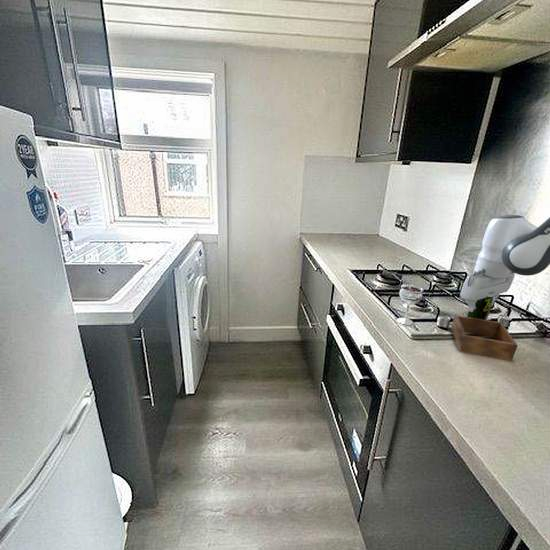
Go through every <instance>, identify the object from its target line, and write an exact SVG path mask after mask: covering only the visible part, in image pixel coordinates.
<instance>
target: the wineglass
mask: <svg viewBox="0 0 550 550" xmlns="http://www.w3.org/2000/svg"><path fill="white" fill-rule="evenodd" d="M423 292H424V288H423V287H421V286H419V285H417V284H412V283H403V284H401V285H400V289H399V292H398V295H399V298H400V299H401V300H402V301H403V302H404V303H406V308H405V316H404V317H398V318H397V319H396V322H398V323H399V324H400V325H404V326H411V325H413V324H414V322H413V320H411V319H410V318H408V314H409V309H410V306H411V305H413V304H417V303H418V302H420V301H421V300H422V299H423Z"/></svg>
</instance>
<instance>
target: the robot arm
mask: <svg viewBox="0 0 550 550" xmlns="http://www.w3.org/2000/svg"><path fill="white" fill-rule="evenodd" d="M549 266H550V216H549V217H548V218H546V220H545V221H544V222H542V223H541V224H540V225H539V226H536V225H534V224H533V223H531V222H530V221H529V220H527V219H526V217H525V216H523V215H518V214H506V215H498V216H495V217H493V218H491V220H490V221H489V223H488V224H487V227H486V229H485V232H484V234H483V238H482V241H481V250H480V251H479V253H478V255H477V258H476V263H475V266H474V269H473V270H474V271H473V272H472V273H471V274H470V275H468V276H467V277H466V278H465V280H464V282H463V285H462V287H461V290H460V294H459V296H460V299H461V300H464V301H466V303H467V308H466V310H467V312H468V311H470V312H473V311H475V310H476V306H475V303H476V302H477V300H480V299H483V298H486V297H487V296H488V293H493V292H494V298H493V301H492V304H491V307H493V306H494V305H495V302H496V300H497V299H498V297H500V295H501V294H504V293H507V292H508V291H509V290H510V288H511V286H512V284H513V281H514V278H515V275H519V276H528V277H529V276H535V275H538V274H541V273H542V272H543V271H545V270H546V269H547V268H548V267H549Z"/></svg>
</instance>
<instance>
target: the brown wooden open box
mask: <svg viewBox="0 0 550 550" xmlns="http://www.w3.org/2000/svg"><path fill="white" fill-rule="evenodd" d="M450 330H451V332H452V336H453V338H454V340H455V343H456V345H457V348H458V350H459V351H458V352H463V353H468V354H473V355H479V356H485V357H489V358H495V359H499V360H505V361H510V362H512V361H513V360H514V357H515V355H516V352H517V349H518V344H517V342H516V341H515V339H514V338H513V336H512V335H511V334H510V332H509V331H508V330H507V328H506V327H505V325H504V323H502V321H501V322H500V321H495V320H488V319H487V320H483V319H476V318H470V317H467V316H463V315H457V314H454V317H453V319H452V323H451V326H450ZM468 334H472V335H468ZM474 335H477V336H474ZM478 335H479V336H485V337H486V338H485V337H479V336H478ZM487 337H490V338H487ZM491 338H494V339H491Z"/></svg>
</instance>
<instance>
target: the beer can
mask: <svg viewBox="0 0 550 550" xmlns="http://www.w3.org/2000/svg"><path fill="white" fill-rule="evenodd" d="M493 298H494V292H493V293H488V296H487V297H486V298H483V299H480V300H477V302H476V303H475V306H476V310H475V311H473V312H470V311H468V310H467V314H466V317H470V318H476V319H483V320H486V319H487V320H488V316H489V313H490V309H491V307H492V306H491V304H492V301H493Z"/></svg>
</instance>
